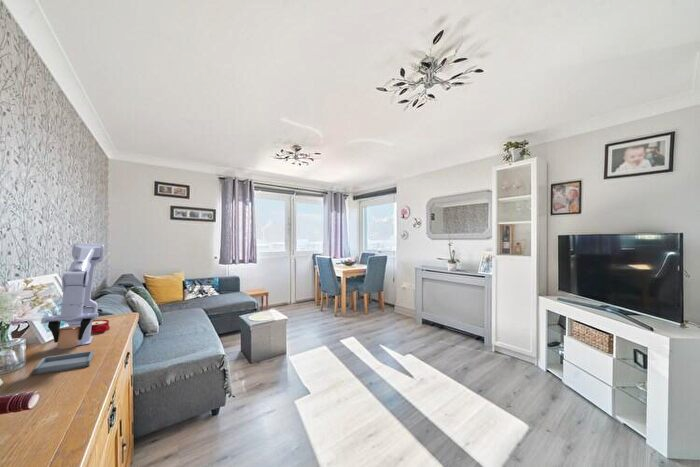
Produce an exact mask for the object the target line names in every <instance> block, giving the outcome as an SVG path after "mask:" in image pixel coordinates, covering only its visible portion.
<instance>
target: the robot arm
mask: <svg viewBox="0 0 700 467" xmlns="http://www.w3.org/2000/svg"><path fill="white" fill-rule="evenodd" d="M104 254H105V245H104V243H88V242H87V243H83V242H82V243H81V242H75V243H74V244H73V245H72V249H71V255H72V259H73V262H72V263H71V264H70V266H69V268H68V270H67V272H64V273H63V275H62V278H61V285H62V286H61V287H62V288H61V289H62V290H61V291H62V299H61V309H60V314H58V315H49V316H43V317H41V322H40V324H42V325H43V324H48V325H47V328H48V329H49V330H50V332H51V335H52V337H53V340H54V341H53V342H54V343H55V344H56V343H57V342H58V334H59V329H60V328H61V324H62V323H61V322H65V324H67V326H81V327H80V335H79V345H78V346H85V345H90V344H91V342H92V340H93V338H94V336H92V333H91V327H92V321H94V320H99V319H98V318H99V312H98V310H99V308H98V306H99V304H98V302H97V301H95V300H93V299H92V291H93V282H94V276H95V268H96V266H97V264H98V263H101V262H102V263H103V260H104Z"/></svg>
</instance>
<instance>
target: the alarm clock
mask: <svg viewBox="0 0 700 467" xmlns="http://www.w3.org/2000/svg"><path fill="white" fill-rule="evenodd" d="M109 324H110V320H109V319H108V320H107V319H95V320H94V321H92V327H91V334H103V333H105V332H106V331H108V330H110V328H111V327H110V325H109Z"/></svg>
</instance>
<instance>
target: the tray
mask: <svg viewBox="0 0 700 467" xmlns="http://www.w3.org/2000/svg"><path fill="white" fill-rule="evenodd" d="M94 354H95V350H90V351H89V350H88V351H82V352H73V353H67V354H58V355H51V356H44V357H42V359H41V360H40V361H39V362H38V364H37V365H36V366H35V367H34V369H33V374H32V375H33V376H38V375H44V374H51V373H55V372H60V371H61V372H62V371H68V370H73V369H74V370H76V369H80V368H87V367H90V365H91V362H92V360H93V357H94Z"/></svg>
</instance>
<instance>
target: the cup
mask: <svg viewBox="0 0 700 467" xmlns="http://www.w3.org/2000/svg"><path fill="white" fill-rule="evenodd" d="M80 327H81V326H69V325H67V326H63V327H60V329H59V334H58V342H57V345H56V348H57V349H60V350H61V349H63V350H64V349H71V348H75V347H78V346H80V345H79V335H80Z"/></svg>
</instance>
